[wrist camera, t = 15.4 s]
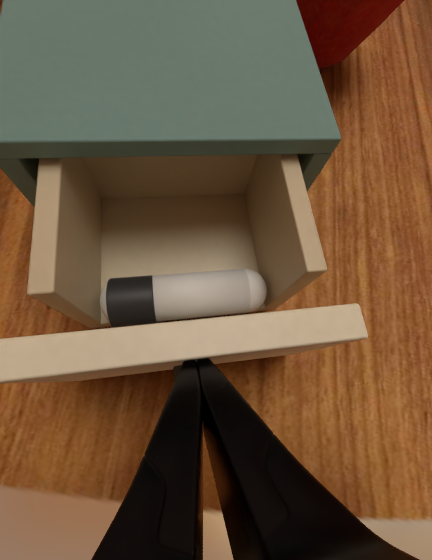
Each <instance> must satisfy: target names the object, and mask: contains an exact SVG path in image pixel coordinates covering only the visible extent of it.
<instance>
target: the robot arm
mask: <svg viewBox="0 0 432 560" xmlns="http://www.w3.org/2000/svg"><path fill="white" fill-rule="evenodd" d="M203 432H204V437H205V441H206V446H207V450H208V454H209V458H210V462H211V467H212V471H213V475H214V479H215V483H216V488H217V492H218V496H219V500H220V504H221V509H222V513H223V517H224V521H225V525H226V529H227V534H228V538H229V542H230V546H231V550H232V554H233V558H234V560H419V559H417V558H415V557H413V556H411V555H409V554H407V553H405V552H403V551H401V550H399V549H397V548H396V547H393V546H392V545H391V544H389V543H387V542H386V541H384V540H383V539H381V538H380V537H379V536H377V535H376V534H374V533H373V532H372V531H371V530H370V529H368V528H367V527H366V526H365V525H364V524H363V523H362V522H361V521H360V520H359V519H358V518H356V517H355V516H354V515H353V514H352V513H351V512H350V511H349V510H348V509H347V508H346V507H345V506H344V505H343V504H342V503H341V502H340V501H339V500H338V499H336V498H335V497H334V496H333V495H332V494H331V493H330V492H329V491H328V490H327V489H326V488H325V487H324V486H323V485H322V484H321V483H320V482H319V481H318V480H317V479H315V478H314V477H313V476H312V475H311V474H310V473H309V472H308V471H307V470H306V469H305V468H304V467H303V466H302V465H301V464H300V463H299V462H298V461H297V459H296V458H295V457H294V456H293V455H292V454H291V453H290V452H289V451H288V450H287V448H286V447H285V446H284V445H283V444H282V443H281V441H280V440H279V439H278V438H277V437H276V436H275V435H273V432H272V431H271V430H270V429H269V428H268V426H267V425H266V424H265V423H264V422H263V420H262V419H261V418H260V417H259V416H258V415H257V413H256V412H255V411H254V410H253V409H252V408H251V406H250V405H249V404H248V403H247V402H246V401H245V399H244V398H243V397H242V396H241V395H240V394H239V392H238V391H237V390H236V389H235V388H234V386H233V385H232V384H231V383H230V382H229V381H228V379H227V378H226V377H225V376H224V375H223V374H222V372H221V371H220V370H219V369H218V368H217V367H216V365H215V364H214V363H213V362H212V361H211V360H210V359H209V358H204V359H198V360H197V362H196V360H188V361H183V363H182V365H181V368H180V370H179V372H178V375H177V377H176V380H175V382H174V384H173V387H172V389H171V392H170V394H169V396H168V399H167V401H166V404H165V406H164V408H163V411H162V413H161V416H160V418H159V420H158V423H157V425H156V428H155V430H154V432H153V435H152V437H151V440H150V442H149V444H148V447H147V449H146V452H145V456H144V457H143V458H142V461H141V463H140V466H139V468H138V470H137V473H136V475H135V477H134V479H133V482H132V484H131V486H130V488H129V490H128V493H127V494H126V496H125V498H124V500H123V502H122V504H121V506H120V508H119V510H118V512H117V514H116V516H115V518H114V520H113V521H112V523H111V525H110V527H109V529H108V530H107V532H106V534H105V536H104V538H103V540H102V541H101V543H100V545H99V547H98V549H97V551H96V552H95V554H94V556H93V558H92V560H203Z"/></svg>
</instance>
